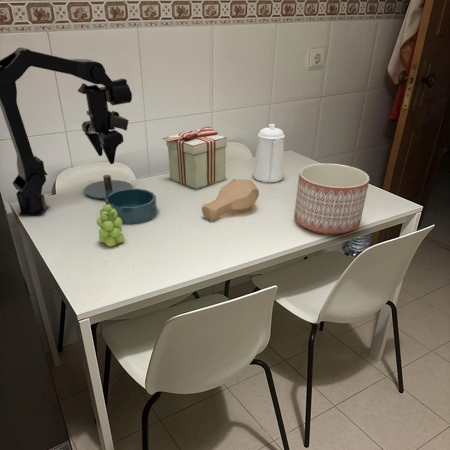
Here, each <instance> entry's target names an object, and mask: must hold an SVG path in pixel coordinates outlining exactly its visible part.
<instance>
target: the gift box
mask: <svg viewBox="0 0 450 450" xmlns="http://www.w3.org/2000/svg"><path fill="white" fill-rule="evenodd" d="M227 139H228V138H227V137H226V136H223V135H220V134H218V131H216V130H215V129H214V128H213V127H211V126H204V127H202V128H200V129H193V130H187V131H182V132H180V133H177V134H173V135H169V136H166V137H162V140H164V141H166V142H165V143H166V144H165V145H166V147H167V152H168V167H169V168H168V169H169V179H170V180H172V181H175V182H177V183H179V184H182V185H184V186H187V187H189V188H191V189H194V190H198V189H200V188H201V189H202V188H204V187H207V186H210V185H213V184H216V183H219V182H222V181H224V180H225V181H226V147H228V140H227Z"/></svg>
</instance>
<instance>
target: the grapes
mask: <svg viewBox="0 0 450 450" xmlns="http://www.w3.org/2000/svg"><path fill="white" fill-rule="evenodd" d="M104 202H105V204H104V205H103V206H102V208H101V209H100V210H99V214H100V215H99V217H97V219H96V225H97V226H98V227H99V230H98V234H99V236H98V240H99V241H100V242H101V243H103V244H105V246H108V247H114V246H118V245H119V244H121V243H123V242H124V240H125V235H124V234H123V233H122V232H121V231H122V230H123V227H122V225H123V224H122V219H121V218H120V217H117V215H118V213H117V211H116V210H115V209H114V208H112V206H111V205H110V204H108V200H105V199H104Z"/></svg>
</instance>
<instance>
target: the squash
mask: <svg viewBox="0 0 450 450" xmlns="http://www.w3.org/2000/svg"><path fill="white" fill-rule="evenodd" d="M259 196H260V190H259V188H258V187H257V185H256V184H255V183H254V181H253V180H251V179H243V178H242V179H241V178H240V179H238V178H237V179H236V178H233V179H231V180H230V181H229V182H228V183H226V184H224V185H223V186H222V187H220V189H219V191H218V195H217V196H216V198H215V199H213V200H212V201H210V202H208V203H204V204H203V205H202V207H201V212H202V214H203V216H204V217H205V218H206V219H207V220H209V221H210V222H211V221H215V220H216V219H217V220H218V218H220V217H221V216H223V215H225V214H230V213H232V214H244V213H246V212H248V211H250V210H251V209H252V207H253V206H254V205H255V204H256V202H257V201H258V198H259Z"/></svg>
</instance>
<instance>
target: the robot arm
mask: <svg viewBox="0 0 450 450" xmlns="http://www.w3.org/2000/svg"><path fill="white" fill-rule="evenodd" d="M31 67H33V68H39V69H43V70H47V71H52V72H57V73H62V74H67V75H70V76H73V77H75V78H79V79H80V80H83V81H84V82H85V81H86V82H88V83H90V84H91V85H88V84H86V83H84V82H82V83H81V85H80V87H79V88H78V89H77V92H78V93H80V94H82V95H85V97H86V103H87V109H88V110H86V115H87V116H88V117H89V120H86V121H83V123H81V130H82V132H83V133H84V135H85V136H86V138H87V139H88V141H89V142H90V144H91V145H92V147H93V148H94V150H95V152H96V154H97V156H99V157H102V156H103V155H104V154H105V156H106V159H107V160H108V162H109V164H110V165H114V164H115V159H116V152H117V149H118V147H119V146H120V145H122V143H124V142H125V141H124V135H123V134H122V133H121V132H119V131H118V130H116V129H120V130H123V131H127V130H128V125H129V119H127V118H125V117H123V116H120V113H119V112H118V111H116V110H115V111H114V110H112V111H110V110H109V105H108V103H109V104H110V105H111V106H118V105H124V104H130V103H131V102H132V100H133V93H132V91H131V88H130V86H129V84H128V80H127V78H119V79H114V80H112V79H111V78H110V77H109V75H108V74H107V72H106V69H105V66H104V64H102V62H98V61H97V60H96V61H95V60H92V59H88V58H87V59H86V58H65V57H61V56H56V55H52V54H47V53H43V52H39V51H35V50H31V49H29V48H25V47H22V46H21V47H17V48H16V49H15V50H14V51H13V52H11V53H9V54H8V55H7V56H5V57H3V58H2V59H0V110H1V112H2V116H3V119H4V122H5V124H6V128H7V130H8V133H9V135H10V138H11V142H12V144H13V148H14V150H15V153H16V168H17V176H15V178H14V180H13V182H12V185H13V187H14V188H15V189H16V190H17V192H16V193H15V194H16V198H17V202H18V206H19V210H20V211H19V213H18V215H19V216H41V215H43V213H44V212H45V210H46V209H47V208H48V206H47V203H46V199H45V195H44V194H43V193H42V192H43V186H44V185H45V184H46V182H47V177H46V176H48V173H47V172H46V170H45V164H44V161H43V160H42V159H40V158H39V157H38V156H37V155H34V153H33V149H32V146H31V143H30V140H29V137H28V133H27V131H26V130H27V129H26V127H25V124H24V121H23V119H22V115H21V113H20V112H21V111H20V109H19V105H18V90H17V81H18V80H19V79H20V78H22V77H23V76H24V74H25V73H26V72H27V70H28V69H30V68H31ZM99 85H101V86H100V87H99ZM103 153H104V154H103Z"/></svg>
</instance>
